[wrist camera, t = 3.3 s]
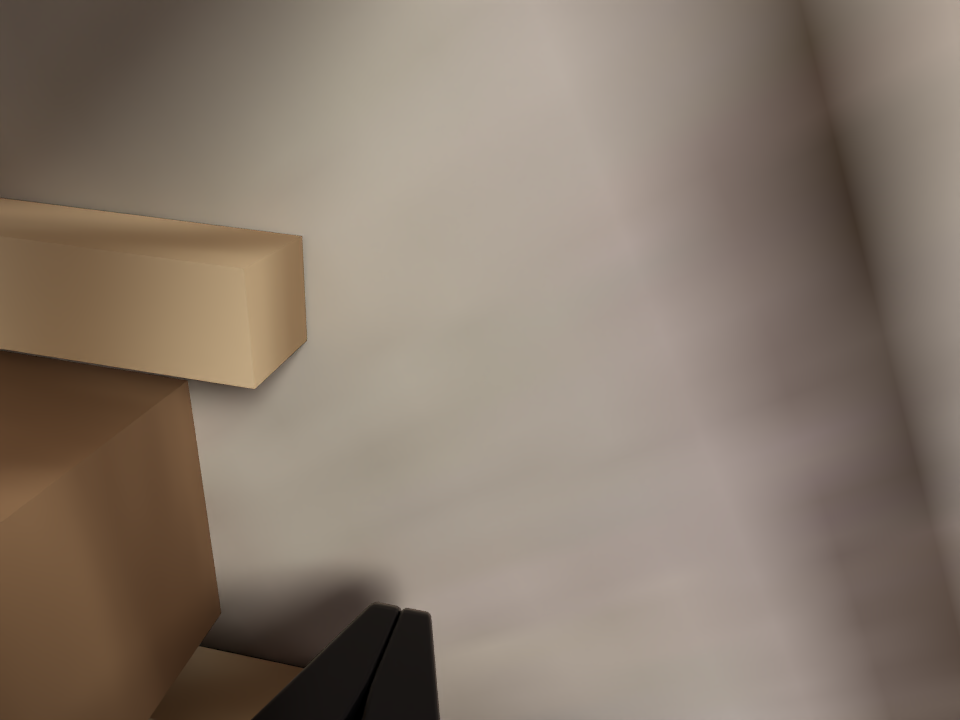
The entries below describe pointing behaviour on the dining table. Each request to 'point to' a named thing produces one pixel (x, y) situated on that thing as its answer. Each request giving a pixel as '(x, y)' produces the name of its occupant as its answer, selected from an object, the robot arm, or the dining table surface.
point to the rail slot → (159, 345)
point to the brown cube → (98, 540)
